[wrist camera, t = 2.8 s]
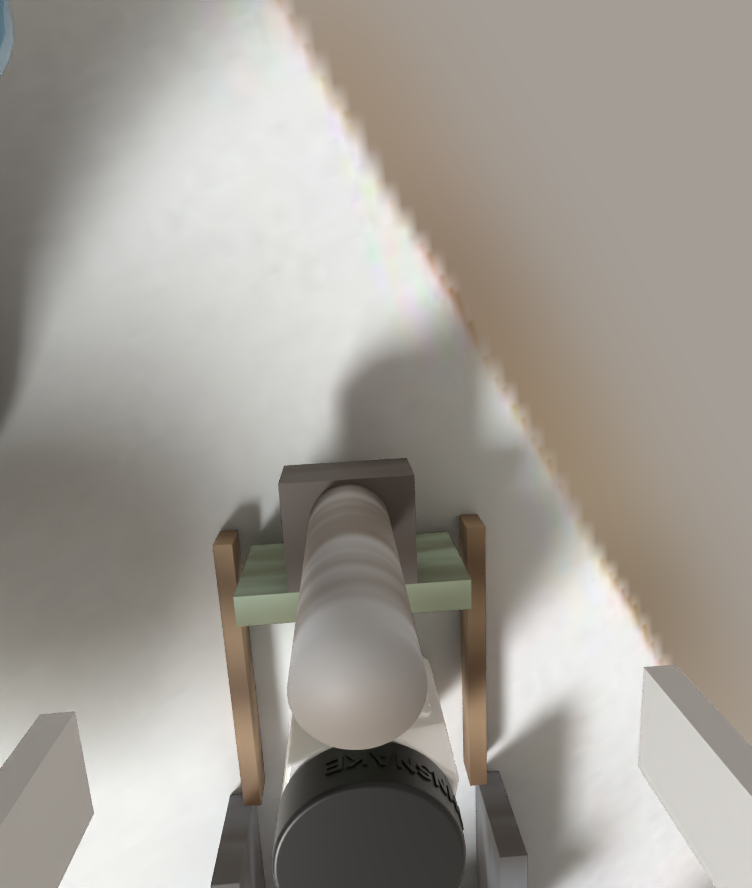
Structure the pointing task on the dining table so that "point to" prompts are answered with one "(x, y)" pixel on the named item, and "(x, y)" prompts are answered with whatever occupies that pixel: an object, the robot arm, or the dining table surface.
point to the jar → (371, 810)
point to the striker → (352, 597)
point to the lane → (496, 827)
